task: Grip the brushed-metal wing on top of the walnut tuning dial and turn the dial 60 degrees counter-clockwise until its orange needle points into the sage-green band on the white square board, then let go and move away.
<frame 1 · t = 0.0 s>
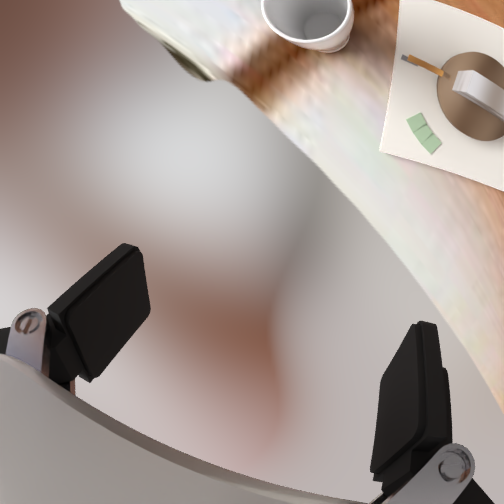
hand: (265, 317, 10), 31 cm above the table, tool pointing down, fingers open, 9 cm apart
white cup: (327, 32, 29), on the table
tuning dial: (471, 87, 23), point 5 cm above the table, hinge at 0.0°
white square board: (471, 94, 27), on the table
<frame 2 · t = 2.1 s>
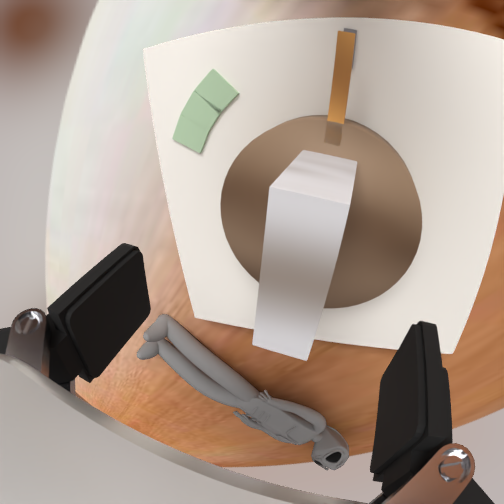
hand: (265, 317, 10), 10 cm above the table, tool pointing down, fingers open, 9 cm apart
alien figure: (261, 387, 31), on the table
tuning dial: (319, 199, 13), point 5 cm above the table, hinge at 0.0°
white square board: (328, 197, 18), on the table
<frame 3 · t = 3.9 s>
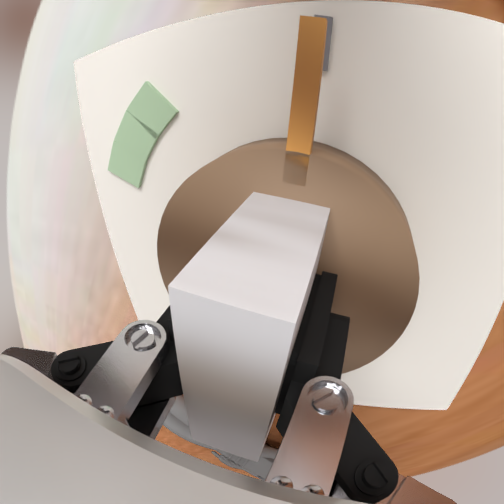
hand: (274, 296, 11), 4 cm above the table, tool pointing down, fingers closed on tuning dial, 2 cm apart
alien figure: (240, 428, 27), on the table
tuning dial: (272, 267, 9), point 5 cm above the table, hinge at 0.0°, touching gripper
white square board: (298, 240, 14), on the table
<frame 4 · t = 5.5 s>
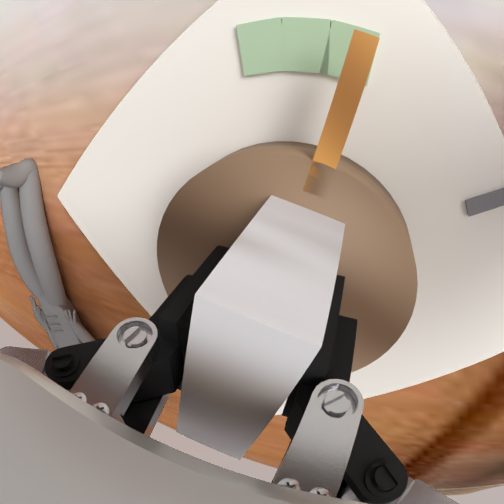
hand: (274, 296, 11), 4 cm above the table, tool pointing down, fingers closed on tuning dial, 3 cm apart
alien figure: (70, 293, 25), on the table
tuning dial: (282, 274, 9), point 5 cm above the table, hinge at 47.4°, touching gripper
white square board: (298, 243, 15), on the table
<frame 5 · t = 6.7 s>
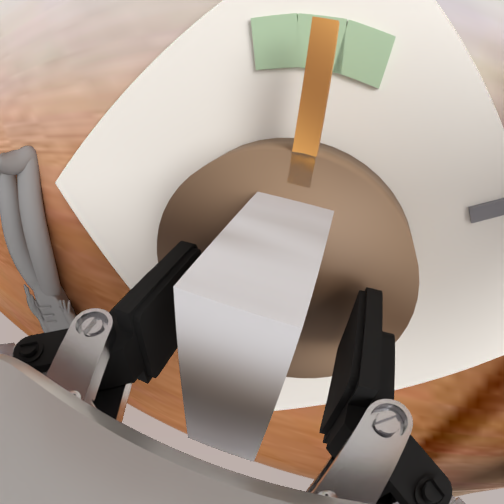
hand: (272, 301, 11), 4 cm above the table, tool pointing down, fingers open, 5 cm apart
alien figure: (65, 282, 24), on the table
tuning dial: (275, 267, 9), point 5 cm above the table, hinge at 57.7°
white square board: (298, 240, 14), on the table
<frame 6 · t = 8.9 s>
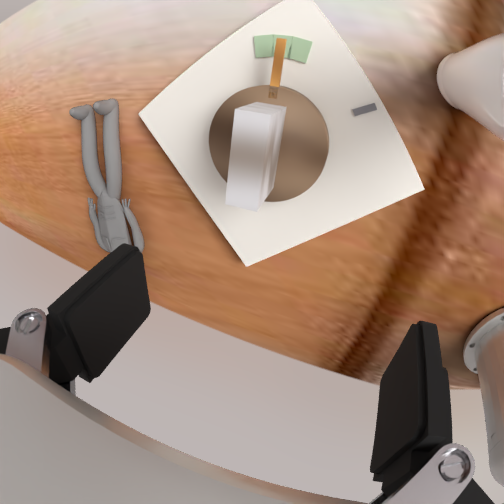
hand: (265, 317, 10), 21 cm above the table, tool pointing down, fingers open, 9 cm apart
alien figure: (120, 195, 38), on the table
white cup: (461, 81, 20), on the table
tuning dial: (263, 125, 23), point 5 cm above the table, hinge at 57.8°
white square board: (276, 136, 28), on the table
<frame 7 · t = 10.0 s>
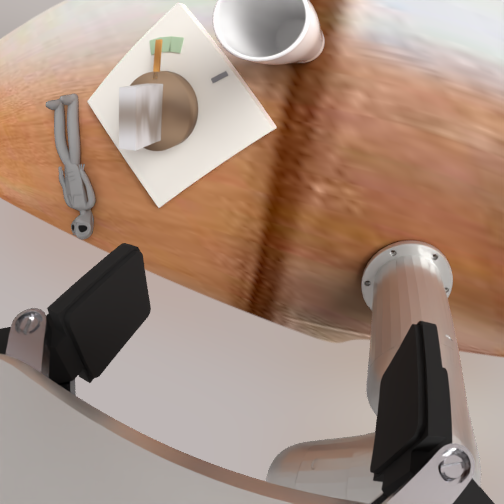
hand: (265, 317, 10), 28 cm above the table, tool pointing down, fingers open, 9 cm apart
alien figure: (81, 164, 47), on the table
white cup: (300, 41, 28), on the table
tuning dial: (146, 97, 31), point 5 cm above the table, hinge at 57.8°
white square board: (170, 107, 37), on the table
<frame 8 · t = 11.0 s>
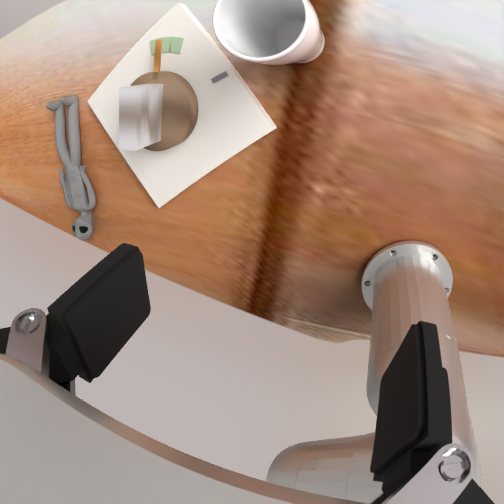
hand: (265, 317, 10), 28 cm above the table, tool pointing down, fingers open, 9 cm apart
alien figure: (82, 165, 47), on the table
white cup: (300, 41, 28), on the table
tuning dial: (146, 97, 32), point 5 cm above the table, hinge at 57.8°
white square board: (170, 107, 37), on the table
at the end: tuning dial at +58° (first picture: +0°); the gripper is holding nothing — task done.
